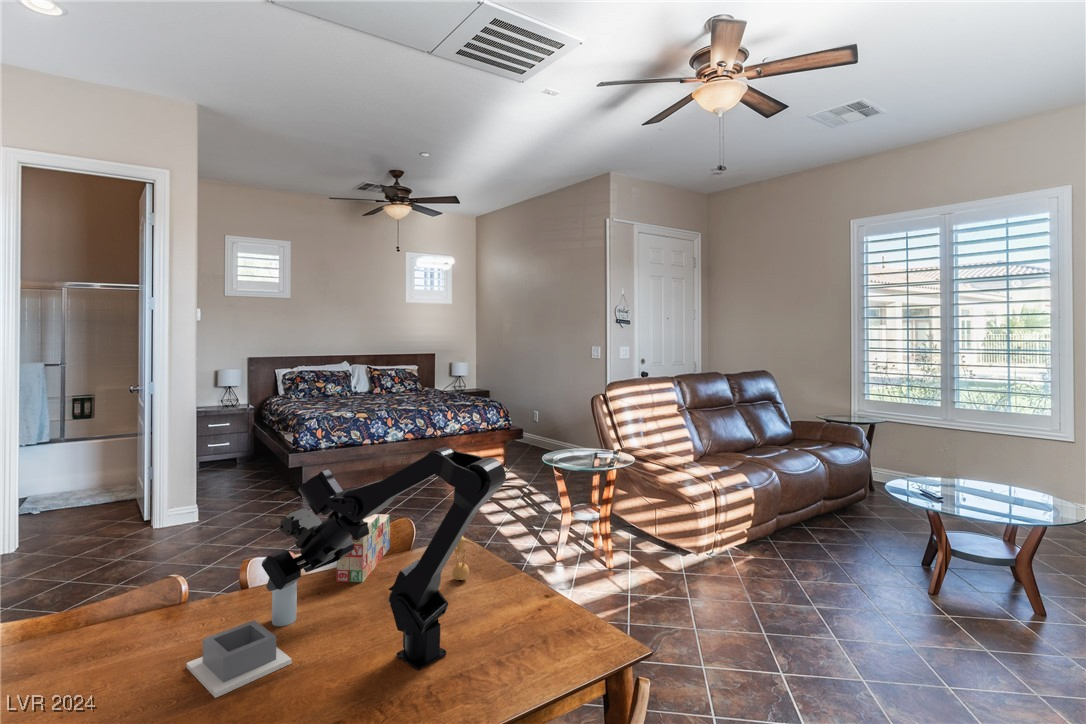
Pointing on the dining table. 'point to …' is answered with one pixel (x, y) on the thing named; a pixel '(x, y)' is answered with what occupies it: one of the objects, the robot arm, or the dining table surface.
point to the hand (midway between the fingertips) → (287, 579)
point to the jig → (237, 658)
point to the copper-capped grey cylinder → (284, 604)
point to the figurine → (461, 569)
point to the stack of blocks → (365, 551)
